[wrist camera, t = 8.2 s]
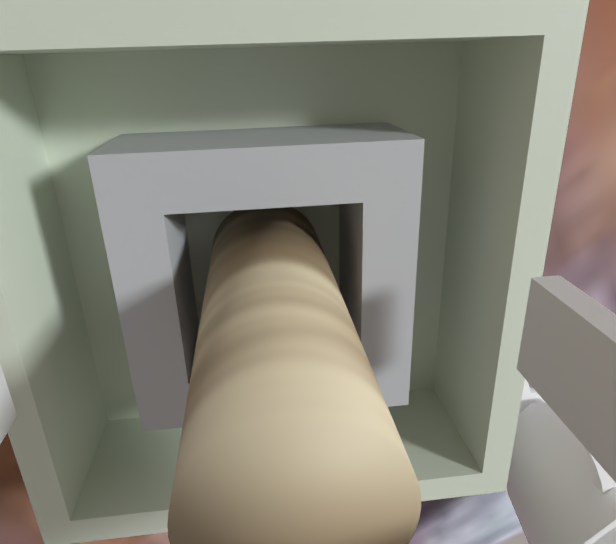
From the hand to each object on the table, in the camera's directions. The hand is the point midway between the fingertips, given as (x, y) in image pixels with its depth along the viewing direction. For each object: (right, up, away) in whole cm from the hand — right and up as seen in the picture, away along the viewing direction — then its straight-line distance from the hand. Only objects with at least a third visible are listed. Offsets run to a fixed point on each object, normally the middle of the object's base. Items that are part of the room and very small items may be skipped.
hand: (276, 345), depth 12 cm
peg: (-1, +3, +6) cm, 7 cm away
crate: (-1, +3, +7) cm, 8 cm away
